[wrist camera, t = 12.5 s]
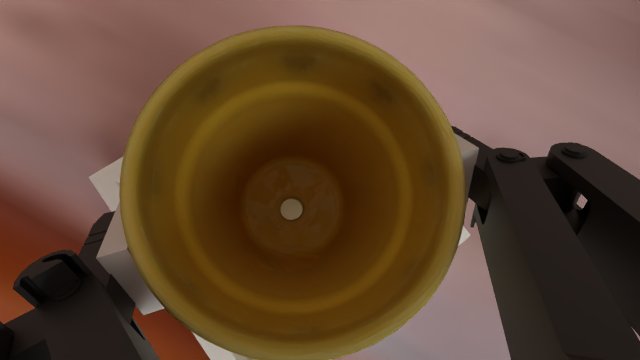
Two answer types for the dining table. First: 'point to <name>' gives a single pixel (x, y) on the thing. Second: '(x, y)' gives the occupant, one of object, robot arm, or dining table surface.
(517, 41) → the dining table surface
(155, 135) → the plant pot
